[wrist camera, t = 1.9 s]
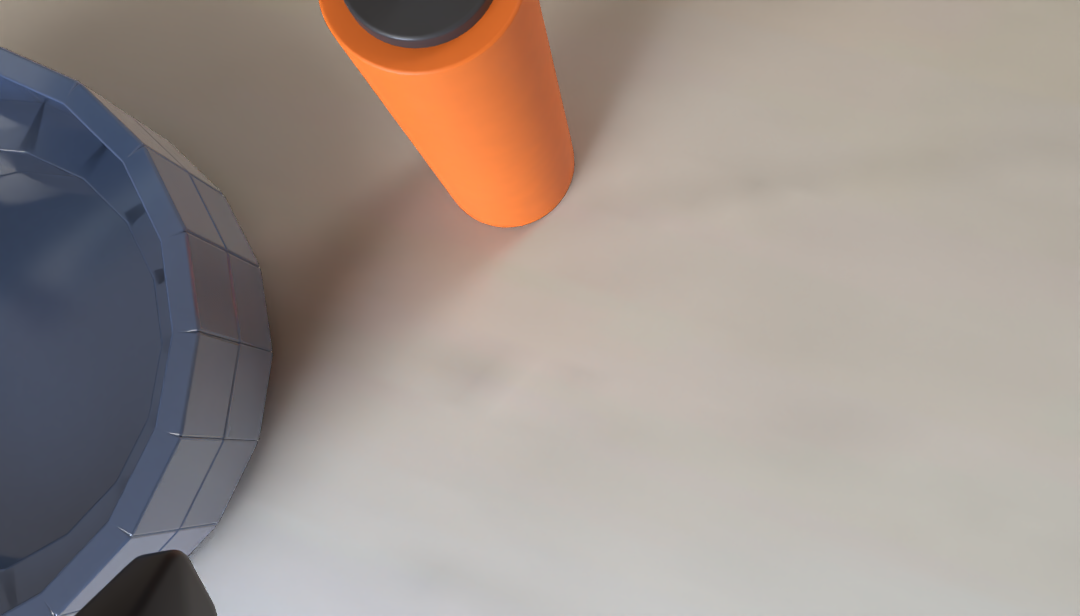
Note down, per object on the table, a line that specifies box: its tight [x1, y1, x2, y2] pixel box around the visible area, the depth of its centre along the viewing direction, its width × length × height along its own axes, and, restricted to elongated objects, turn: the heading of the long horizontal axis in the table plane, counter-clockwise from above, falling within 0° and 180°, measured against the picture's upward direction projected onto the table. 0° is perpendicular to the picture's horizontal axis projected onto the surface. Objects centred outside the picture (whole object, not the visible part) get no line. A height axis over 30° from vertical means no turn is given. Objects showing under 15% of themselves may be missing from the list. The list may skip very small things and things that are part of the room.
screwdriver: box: [319, 0, 574, 227], centre depth 17 cm, size 3×3×13 cm
